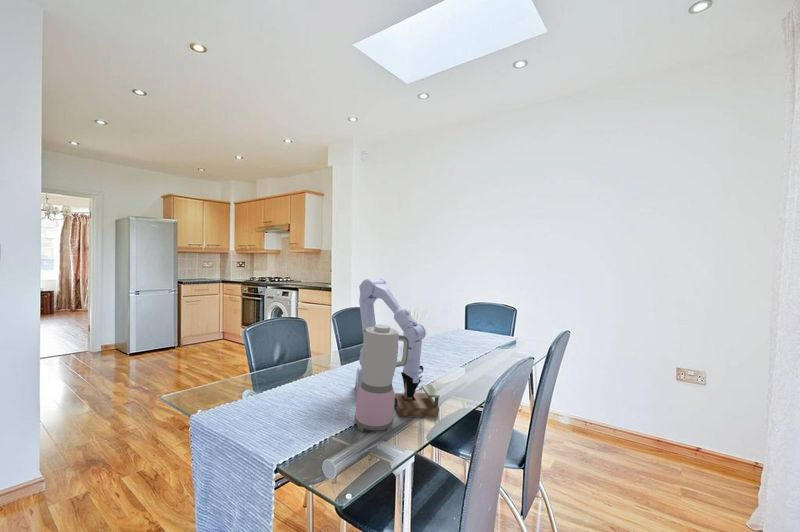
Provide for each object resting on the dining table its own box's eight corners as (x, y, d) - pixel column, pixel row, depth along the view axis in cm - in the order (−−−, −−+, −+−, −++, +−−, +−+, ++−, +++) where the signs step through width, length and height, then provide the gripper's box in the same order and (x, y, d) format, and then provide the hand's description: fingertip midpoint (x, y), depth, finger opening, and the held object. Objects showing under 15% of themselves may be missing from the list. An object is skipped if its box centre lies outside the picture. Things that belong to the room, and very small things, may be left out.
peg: (412, 403, 127) (414, 382, 127) (403, 403, 127) (406, 381, 127) (411, 399, 130) (413, 378, 130) (402, 399, 130) (404, 378, 130)
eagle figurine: (426, 383, 149) (427, 372, 158) (419, 370, 148) (419, 359, 156) (411, 390, 150) (412, 379, 159) (403, 377, 149) (404, 366, 158)
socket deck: (399, 416, 120) (401, 396, 119) (392, 401, 132) (393, 382, 131) (438, 416, 123) (440, 396, 123) (427, 400, 135) (429, 382, 134)
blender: (357, 435, 106) (366, 330, 104) (351, 415, 118) (359, 321, 116) (406, 431, 111) (416, 331, 109) (396, 413, 122) (404, 322, 120)
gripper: (428, 365, 122) (425, 403, 122) (417, 352, 136) (414, 386, 137) (409, 365, 120) (405, 403, 121) (399, 351, 134) (396, 386, 135)
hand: (408, 394), depth 129 cm, fingers closed on peg, 3 cm apart
